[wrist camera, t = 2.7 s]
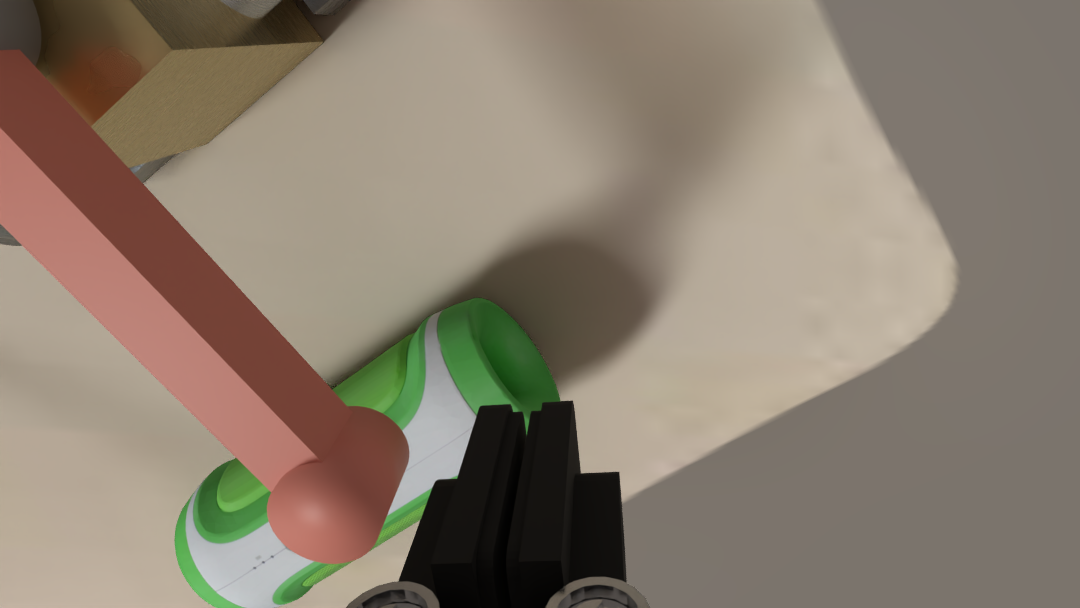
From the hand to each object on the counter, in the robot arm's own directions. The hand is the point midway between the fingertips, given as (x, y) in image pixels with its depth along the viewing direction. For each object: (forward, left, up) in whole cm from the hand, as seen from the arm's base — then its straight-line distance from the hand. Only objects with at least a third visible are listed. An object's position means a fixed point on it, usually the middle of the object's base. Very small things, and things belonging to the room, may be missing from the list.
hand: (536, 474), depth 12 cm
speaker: (-13, -3, -19) cm, 24 cm away
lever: (-7, +7, -7) cm, 13 cm away
